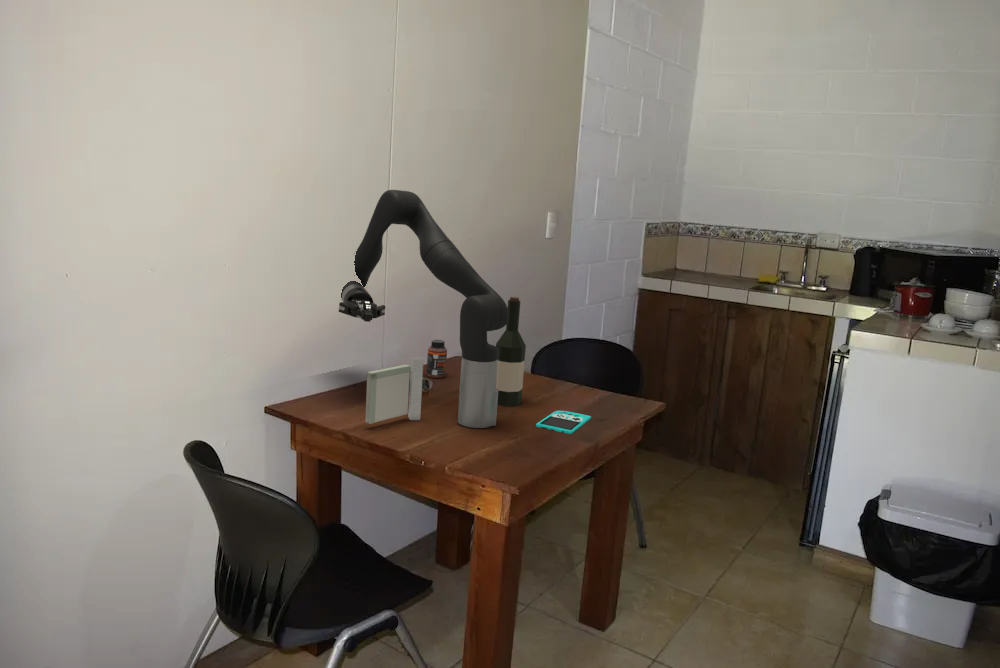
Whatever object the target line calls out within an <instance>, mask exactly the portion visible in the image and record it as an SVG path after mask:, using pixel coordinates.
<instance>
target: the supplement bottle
mask: <svg viewBox="0 0 1000 668" xmlns="http://www.w3.org/2000/svg"><path fill="white" fill-rule="evenodd" d="M447 356H448V349H447V348H446V346H445V340H442V339H432V340H431V344H430V346H429V347H428V349H427V357H426V358H427V361H426V376H427V377H429V378H432V379H443V378H445V377H446V373H447V358H448V357H447Z"/></svg>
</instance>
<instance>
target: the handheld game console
mask: <svg viewBox="0 0 1000 668" xmlns="http://www.w3.org/2000/svg"><path fill="white" fill-rule="evenodd" d="M591 419H592V416H591V415H587V414H582V413H577V412H572V411H568V410H567V411H566V410H555V411H553V412H552V413H550V414H549V415H548V416H545V418H543V419H542V420H540V421H538V422H537V423H536V424H535V427H537V428H542V429H545V430H550V431H552V430H554V431H556V432H559V433H564V434H569V435H572V434H573V433H574V432H576V431H577V430H578V429H579V428H581V427H582V426H583V425H585V424H586V423H587V422H589V421H590V420H591Z"/></svg>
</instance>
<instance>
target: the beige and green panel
mask: <svg viewBox="0 0 1000 668" xmlns="http://www.w3.org/2000/svg"><path fill="white" fill-rule="evenodd" d="M410 371H411V365H409V364H402V365H401V364H400V365H398V366H397V365H396V366H392V367H387V368H381V369H377V370H371V371H367V373H366V395H365V396H366V397H365V399H366V402H365V419H364V420H365V423H366V424H369V425H372V424H374V423H377V422H382V421H385V420H390V419H393V418H397V417H402V416H404V415H408V411H409V391H410Z"/></svg>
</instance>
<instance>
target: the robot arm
mask: <svg viewBox="0 0 1000 668" xmlns="http://www.w3.org/2000/svg"><path fill="white" fill-rule="evenodd" d="M391 225H401V226H407V227H408V228H409V229H411V231H412V232H413V233H414V234H415V236H416V237H417V238H418V240H419V242H418V243H419V255H420V258H421V260H422V262H423V264H424V265H425V266H426V268H427V269H428V270H429V272H431V273H432V275H433V276H434V277H435V278H436V279H437V280H439V281H440V282H441V283H443V284H444V285H446V286H448V287H450V288H451V289H453V290H454V291H456V292H458V293H459V294H462V296H463V297H465V299H464V301H463V302H462V304H461V308H460V313H459V344H460V349H461V363H460V380H459V394H458V395H459V396H458V397H459V398H458V408H457V409H458V411H457V412H458V413H457V423H458V424H459V425H460V426H463V427H466V428H472V429H485V428H490V427H493V426H494V427H495V426H496V425H497V413H498V405H497V403H498V389H497V388H496V381H497V367H498V353H499V351H498V348H497V347H496V345H493V344H490V343H489V342H488V332H493V331H497V330H500V329H503V328H504V327H506V324H507V322H508V319H509V312H508V304H507V303H506V301H504V298H502V296H500V294H499V293H497V291H496V290H494V288H493V287H491V285H489V284H488V283H487V281H485V280H484V279H483V277H481V276H480V275H479V274H478V272H477V271H476V269H474V267H473V265H471V264H470V263H469V262H468V260H467V259H466V258H465V257H464V256H463V254H462V253H461V251H460V250H459V248H457V246H456V245H455V244H454V243H453V241H451V239H450V238H449V237H448V236H447V235H446V233H445V232H444V231H443V230H442V228H441V227H440V226H439V224H438V223H437V222H436V221H435V219H434V218H433V216H432V215H431V213H430V212H429V210H428V208H427V206H426V205H425V204H424V202H423V200H422V199H421V198H420V197H419V195H418V194H416V193H414V192H412V191H408V190H401V189H388V190H386V191H384V192H383V193H382V194H381V196H380V197H379V199H378V201H377V204H376V206H375V208H374V211H373V213H372V216H371V218H370V221H369V223H368V226H367V229H366V231H365V234H364V236H363V238H362V240H361V242H360V244H359V246H358V248H357V249H356V250H357V251H355V252H356V255H355V261H354V263H355V264H354V265H355V272H356V275H357V276H358V278H359V279H360V280H361V283H362V285H363V286H362V285H361V284H360V283H358V282H356V281H350V282H348V283H347V284H346V285H345V286H344V287H343V289H342V293H341V298H342V299H341V302H339V305H338V312H339V313H341V314H345V315H347V316H350V317H352V318H357V319H359V318H360V319H361V320H362V321H364V322H366V323H367V322H369V323H371V321H373V319H377V318H380V317H383V316H385V315H386V305H384V304H382V305H381V304H380V305H377V304H376V303H375V302H374V300H373V297H372V295H371V294H370V293H369V291H368V290H367V288H366V289H365V288H364V287H365V286H366V284H367V285H368V283H367V282H369V279H370V277H371V274H372V273H373V272H374V269H375V268H376V266H377V265H378V264H379V262H380V260H381V258H382V255H383V248H384V247H383V238H384V234H385V233H386V231H387V230H388V229H389V227H390V226H391Z"/></svg>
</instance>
